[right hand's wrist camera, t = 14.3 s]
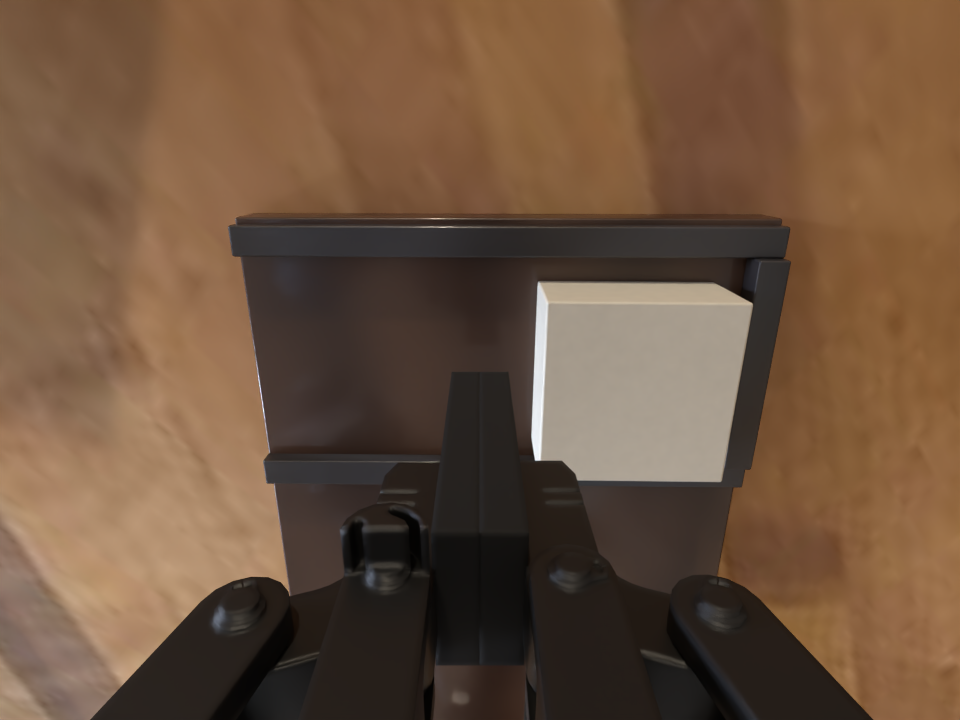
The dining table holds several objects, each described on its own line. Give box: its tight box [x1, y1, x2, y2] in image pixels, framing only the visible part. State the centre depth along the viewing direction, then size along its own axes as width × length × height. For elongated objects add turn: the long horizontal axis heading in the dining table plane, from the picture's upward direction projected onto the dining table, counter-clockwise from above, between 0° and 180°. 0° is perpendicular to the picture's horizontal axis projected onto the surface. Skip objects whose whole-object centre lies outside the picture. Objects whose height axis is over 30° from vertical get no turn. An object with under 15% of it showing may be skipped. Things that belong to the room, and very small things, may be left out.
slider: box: [531, 281, 753, 482], centre depth 18 cm, size 6×6×3 cm
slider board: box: [228, 213, 791, 720], centre depth 20 cm, size 18×32×10 cm, turn 0°
